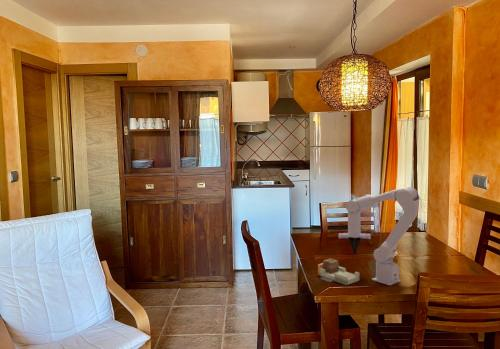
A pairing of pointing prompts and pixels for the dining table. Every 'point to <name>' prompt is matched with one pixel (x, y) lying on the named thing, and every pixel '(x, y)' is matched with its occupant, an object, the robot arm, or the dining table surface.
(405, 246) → the dining table surface
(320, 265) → the trap lane
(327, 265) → the walnut block
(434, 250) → the dining table surface
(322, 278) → the mats
